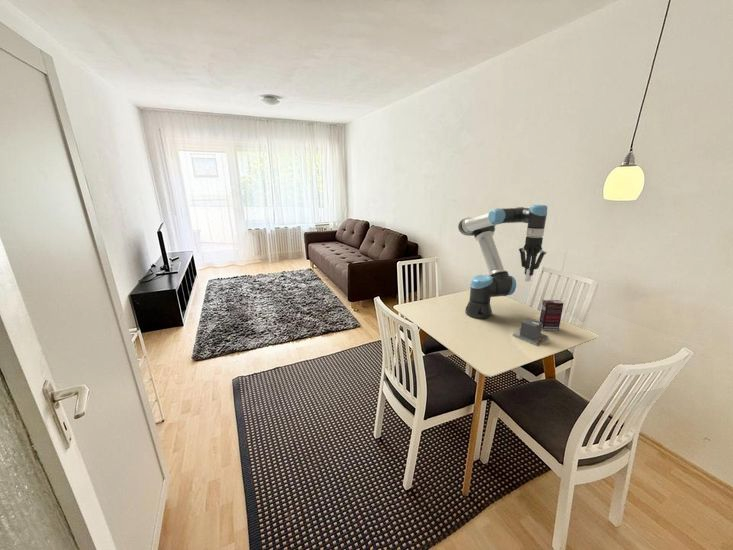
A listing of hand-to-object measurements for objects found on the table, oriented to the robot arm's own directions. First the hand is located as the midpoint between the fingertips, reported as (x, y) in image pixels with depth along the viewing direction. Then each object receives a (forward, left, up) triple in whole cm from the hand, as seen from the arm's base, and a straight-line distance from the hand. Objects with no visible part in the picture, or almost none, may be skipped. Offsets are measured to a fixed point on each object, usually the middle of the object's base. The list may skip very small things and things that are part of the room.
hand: (527, 280), depth 155 cm
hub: (+9, -8, -26) cm, 29 cm away
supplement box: (+10, +9, -27) cm, 30 cm away
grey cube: (+9, -8, -25) cm, 28 cm away
